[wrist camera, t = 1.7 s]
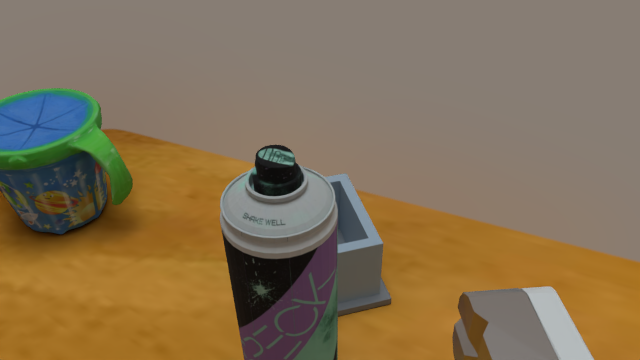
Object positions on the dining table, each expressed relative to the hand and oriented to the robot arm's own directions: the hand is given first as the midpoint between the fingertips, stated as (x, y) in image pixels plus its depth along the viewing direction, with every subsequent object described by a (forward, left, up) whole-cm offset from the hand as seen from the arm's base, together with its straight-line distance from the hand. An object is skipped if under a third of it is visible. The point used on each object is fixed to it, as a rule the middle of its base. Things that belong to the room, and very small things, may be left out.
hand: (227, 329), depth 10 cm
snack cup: (-13, +38, -26) cm, 48 cm away
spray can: (+3, +13, -26) cm, 29 cm away
